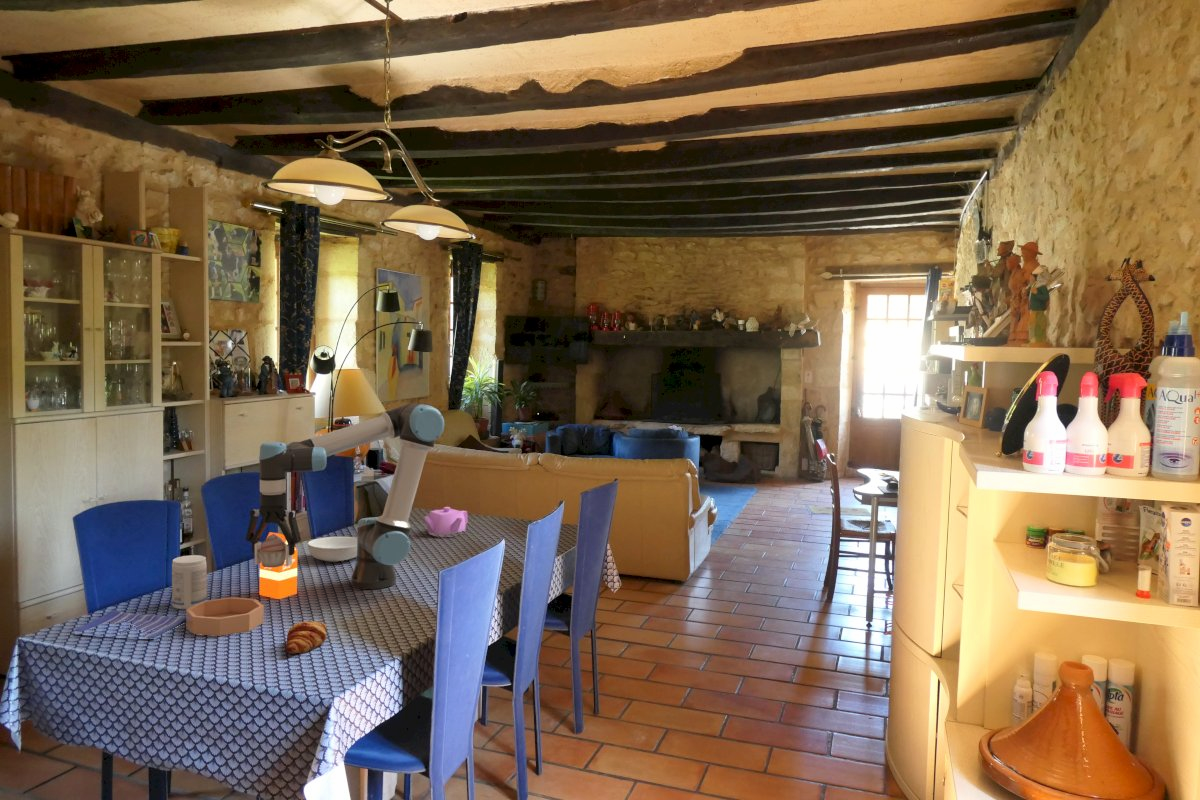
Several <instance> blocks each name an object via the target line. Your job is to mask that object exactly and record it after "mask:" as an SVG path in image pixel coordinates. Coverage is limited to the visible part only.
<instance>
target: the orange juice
mask: <svg viewBox="0 0 1200 800" xmlns="http://www.w3.org/2000/svg"><path fill="white" fill-rule="evenodd" d="M272 534H275V535H277V536H279V537H280V538H282V539H283V541H284V542H285V543H286V544H288V543H287V541H286V539H285V537H284V535H283V533H279V532H270V531H269V532H268V535H267V537H266V539H267V538H268V536H270V535H272ZM298 552H299V551H298V549H297V547H296V546H295V553H294V554H293V555H292V564H291V565H290V566H286V559H285V563H284V565H282V566H279V567H273V568H268V567H263V566H262V563H260V564H259V595H260V596H263V597H268V598H273V599H276V600H280V599H283V598H287V597H290V596H294V595H297V594H298V587H297V586H298Z"/></svg>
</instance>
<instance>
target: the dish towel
mask: <svg viewBox="0 0 1200 800" xmlns="http://www.w3.org/2000/svg"><path fill="white" fill-rule="evenodd" d="M124 620H125V621H124ZM130 621H133V623H135V624H134V625H136V626H137V627H138V626H139V627H138V628H136V630H134V631H139V630H143V629H144V630H145V629H146V630H145V631H143V632H144V634H145V633H147V632H149V631H150V632H151V633H147V634H145V635H143V636H142V637H147V638H155V637H157V636H159V635H161V634H163V633H165V632H167V631H169V630H171V629H173V628H175V627H177V626H179V625H181V624H183V623H185V622H186V615H185V616H181V615H179V616H175V617H174V616H165V615H156V614H141V613H131V612H130V613H129V612H124V611H122V610H121V611H120V610H116V609H112V610H111V611H108V612H107V613H105V614H104V615H101V616H100V617H98V618H96V619H94V620H93V621H90V622H88V623H85V624H83V625H82V626H79V627H77V628H76V629H74V631H86V630H88V629H90V628H92V627H95V626H98V625H100V624H104V623H107V622H108V623H109V622H110V623H111V624H113V623H115V624H116V623H118V624H119V623H122V622H130ZM185 624H186V623H185ZM130 625H132V626H133V624H129V626H130ZM141 625H142V626H141ZM183 625H184V624H183ZM136 626H134V627H136ZM181 626H182V625H181ZM122 628H124V627H122ZM130 629H131V630H132V629H135V628H130ZM127 630H128V631H130V630H129V629H127ZM127 630H123V631H118V632H119V633H120V634H121V632H122V633H123V632H124V631H127ZM151 630H155V631H151ZM112 633H113V632H112ZM115 633H117V632H115ZM142 634H143V633H142ZM126 635H127V634H126ZM130 635H131V634H130ZM139 635H140V634H139Z"/></svg>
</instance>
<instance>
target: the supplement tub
mask: <svg viewBox="0 0 1200 800" xmlns="http://www.w3.org/2000/svg"><path fill="white" fill-rule="evenodd" d="M207 569H208V568H207V558H206V556H205V555H199V554H198V555H196V554H192V555H191V554H190V555H183V556H177V557H176V558H173V559H172V564H171V594H172V596H171V598H172V599H171V600H172V601H171V602H172V603H171V604H172V607H173V608H174V609H177V610H186V609H188V608H190V607H192V606H194V605H196V604H198V603H200V602H202V601H208V599H207V598H208V596H207V595H208V594H207V593H208V591H207V590H208V588H207V587H208V586H207V584H208V583H207V581H208V580H207V576H208V575H207V572H208V570H207Z"/></svg>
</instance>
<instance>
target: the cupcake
mask: <svg viewBox="0 0 1200 800" xmlns="http://www.w3.org/2000/svg"><path fill="white" fill-rule="evenodd" d="M267 537H268V538H267ZM267 537H266V538H265V540H264V541H262V542H261V549H259V550H258V551H257V552H258V554H259V556H260V559H261V562H262V566H263V567H268V568H273V567H279V566H282V565H284V563H285V559H286V545H287V544H286V543H285V542H284V541H283V539H282V538H280V537H279V536H277V535H275V534H272V535H270V536H268V535H267Z"/></svg>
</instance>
